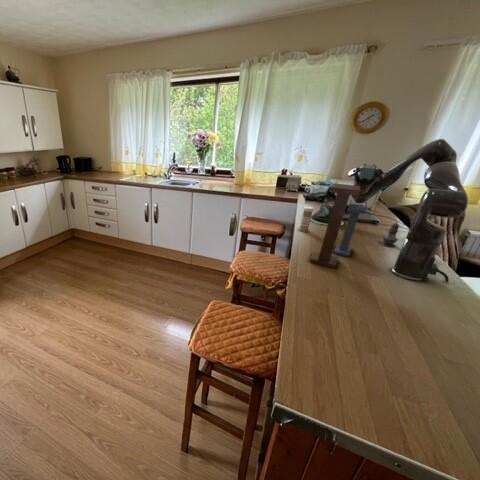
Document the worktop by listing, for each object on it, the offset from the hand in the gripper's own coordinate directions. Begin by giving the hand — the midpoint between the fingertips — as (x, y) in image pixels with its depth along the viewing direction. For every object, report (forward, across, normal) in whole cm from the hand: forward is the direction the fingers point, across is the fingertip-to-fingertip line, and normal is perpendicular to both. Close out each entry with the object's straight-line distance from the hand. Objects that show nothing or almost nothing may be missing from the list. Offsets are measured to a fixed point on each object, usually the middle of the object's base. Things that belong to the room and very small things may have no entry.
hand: (369, 166), depth 108 cm
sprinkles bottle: (-29, -20, +27) cm, 45 cm away
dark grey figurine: (-34, +17, +25) cm, 45 cm away
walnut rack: (+2, -5, +44) cm, 45 cm away
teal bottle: (0, 0, +4) cm, 4 cm away
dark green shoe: (-55, -13, +13) cm, 58 cm away
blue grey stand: (-13, 0, +36) cm, 38 cm away
